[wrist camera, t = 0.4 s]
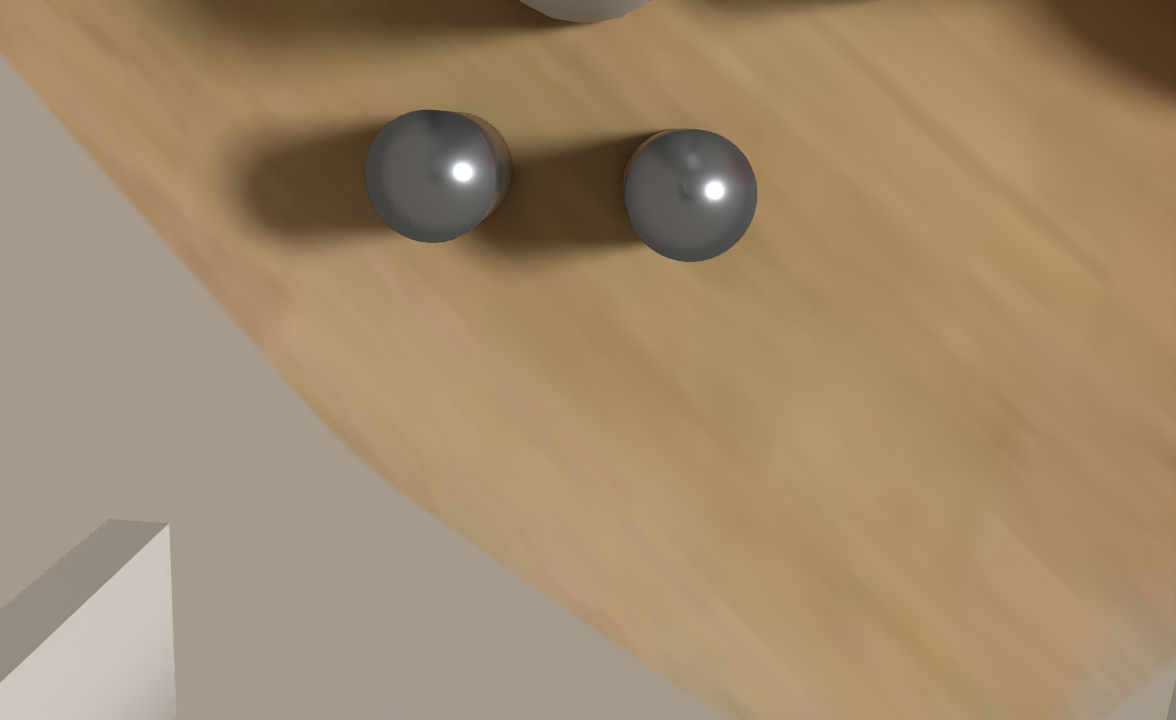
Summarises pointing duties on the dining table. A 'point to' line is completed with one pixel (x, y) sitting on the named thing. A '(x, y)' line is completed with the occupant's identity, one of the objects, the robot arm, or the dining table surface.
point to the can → (584, 9)
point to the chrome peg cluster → (484, 174)
